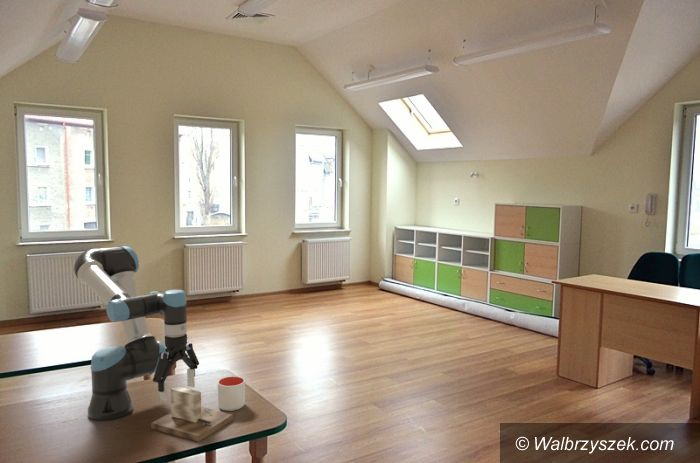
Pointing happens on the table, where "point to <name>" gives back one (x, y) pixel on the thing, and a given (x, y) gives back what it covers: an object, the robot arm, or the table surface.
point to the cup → (231, 393)
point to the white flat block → (186, 404)
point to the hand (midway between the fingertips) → (177, 393)
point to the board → (193, 424)
